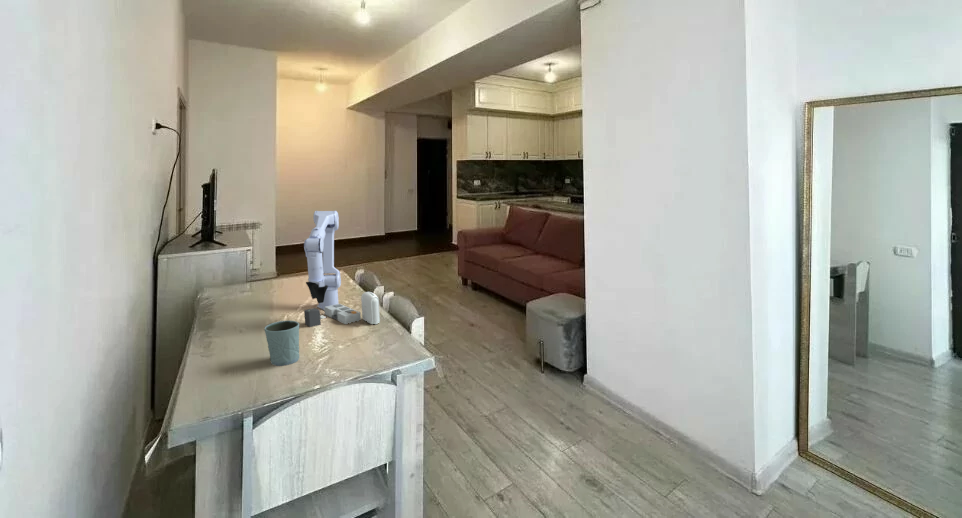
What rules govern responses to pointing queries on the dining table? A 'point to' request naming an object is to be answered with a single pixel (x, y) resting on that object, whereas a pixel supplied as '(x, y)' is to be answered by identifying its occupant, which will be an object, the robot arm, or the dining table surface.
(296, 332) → the grey-green cup
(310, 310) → the charger
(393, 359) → the dining table surface
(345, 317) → the power strip
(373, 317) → the photo printer
